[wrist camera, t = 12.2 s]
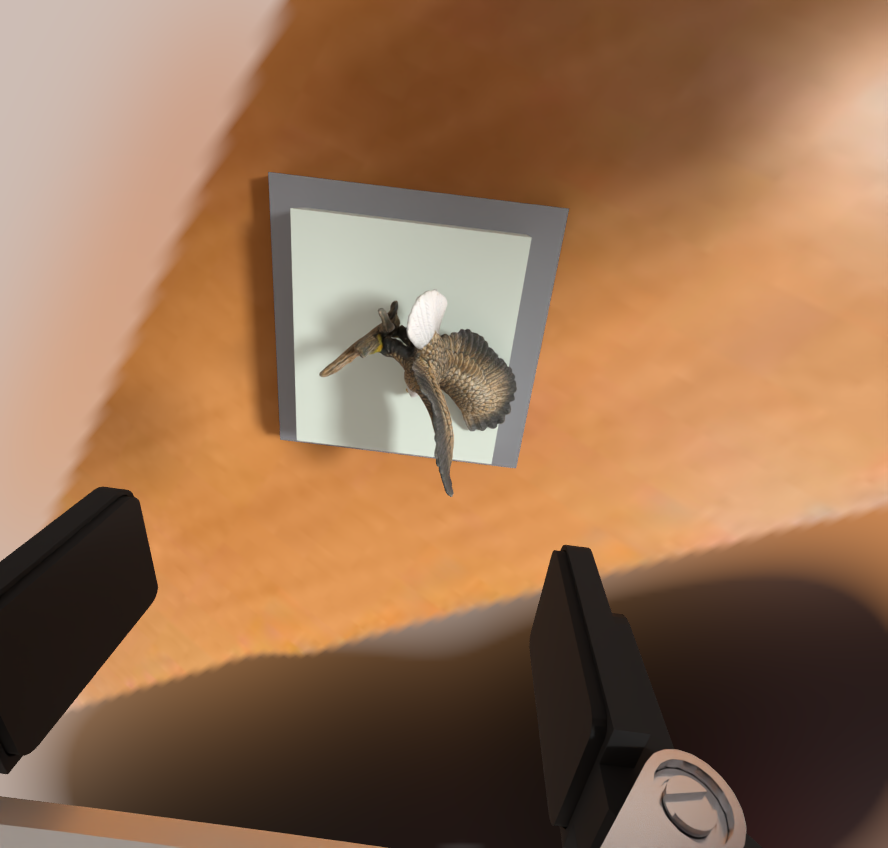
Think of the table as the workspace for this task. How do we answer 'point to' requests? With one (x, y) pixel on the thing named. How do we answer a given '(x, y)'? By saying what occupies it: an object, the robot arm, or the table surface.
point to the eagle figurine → (440, 371)
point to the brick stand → (402, 305)
